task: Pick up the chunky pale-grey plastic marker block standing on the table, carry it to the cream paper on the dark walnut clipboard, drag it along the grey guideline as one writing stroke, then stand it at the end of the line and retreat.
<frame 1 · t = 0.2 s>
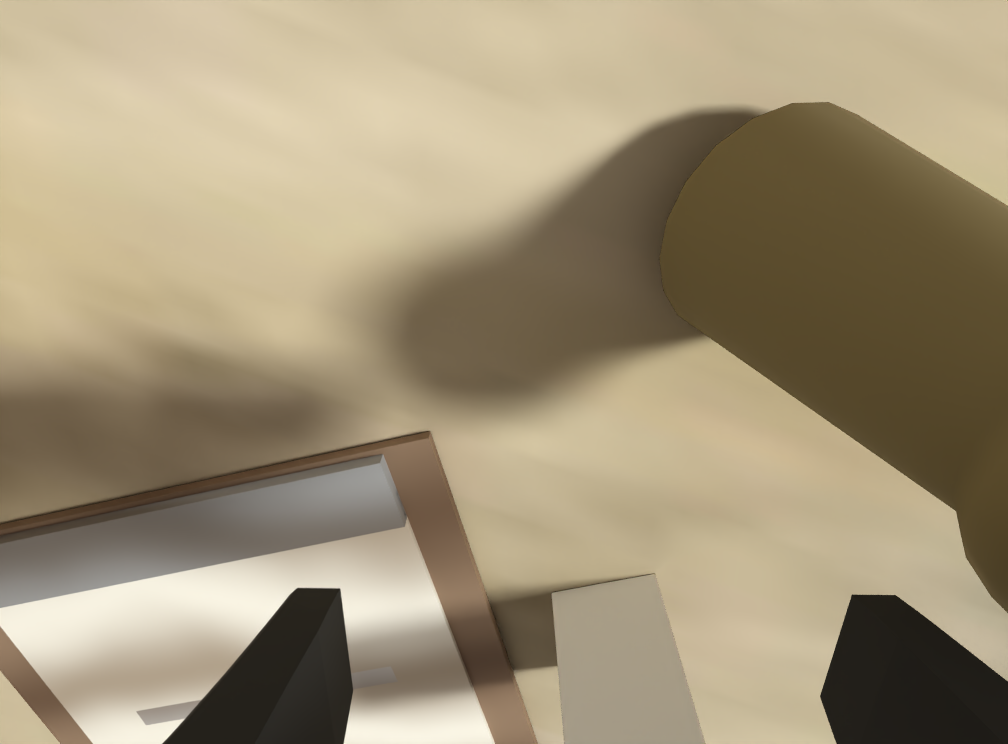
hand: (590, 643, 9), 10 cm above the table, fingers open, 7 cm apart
marker: (611, 621, 22), on the table
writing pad: (259, 664, 23), on the table
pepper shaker: (767, 227, 16), point 1 cm above the table
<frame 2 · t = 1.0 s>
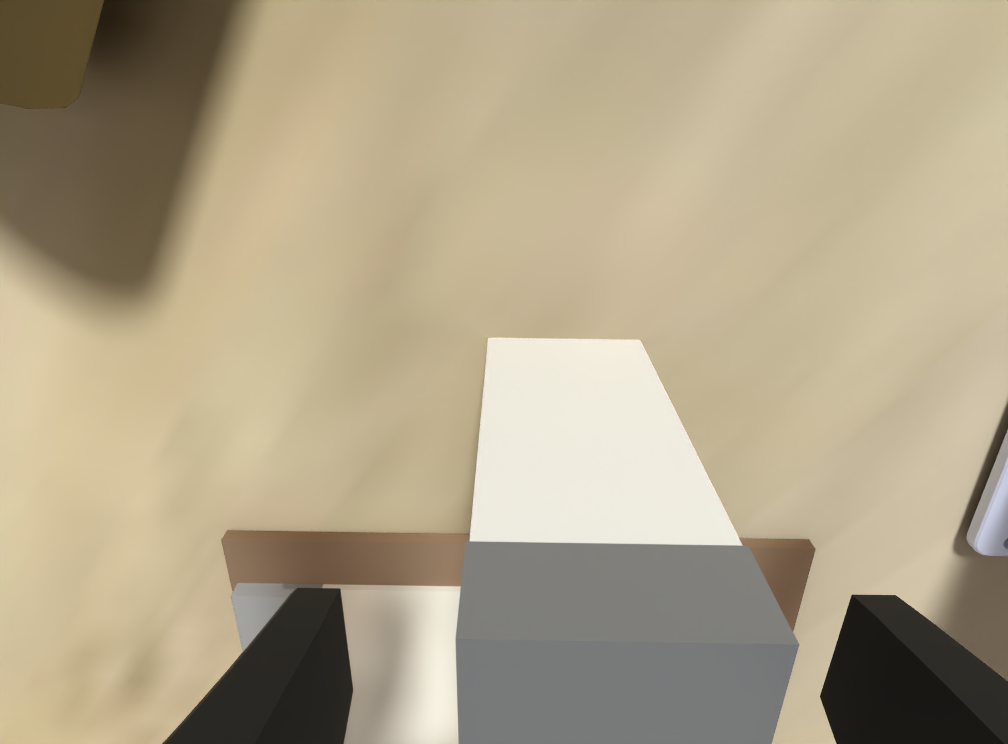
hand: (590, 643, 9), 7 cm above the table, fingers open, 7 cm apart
marker: (560, 406, 16), on the table
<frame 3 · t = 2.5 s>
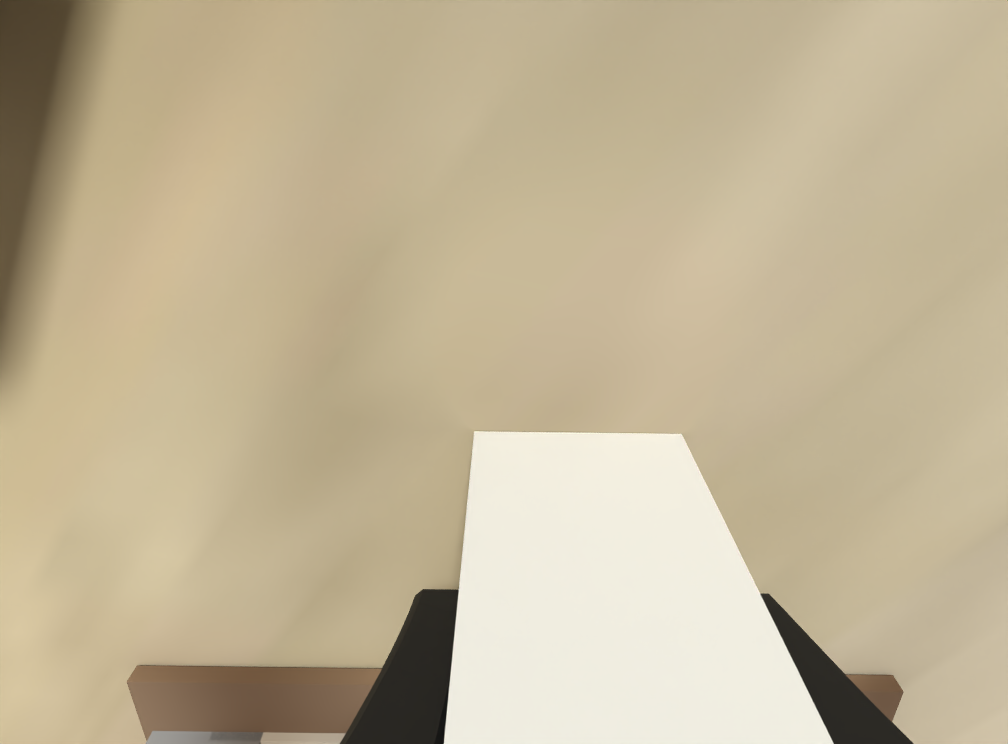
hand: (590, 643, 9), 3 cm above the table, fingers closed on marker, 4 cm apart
marker: (572, 516, 12), on the table, touching gripper
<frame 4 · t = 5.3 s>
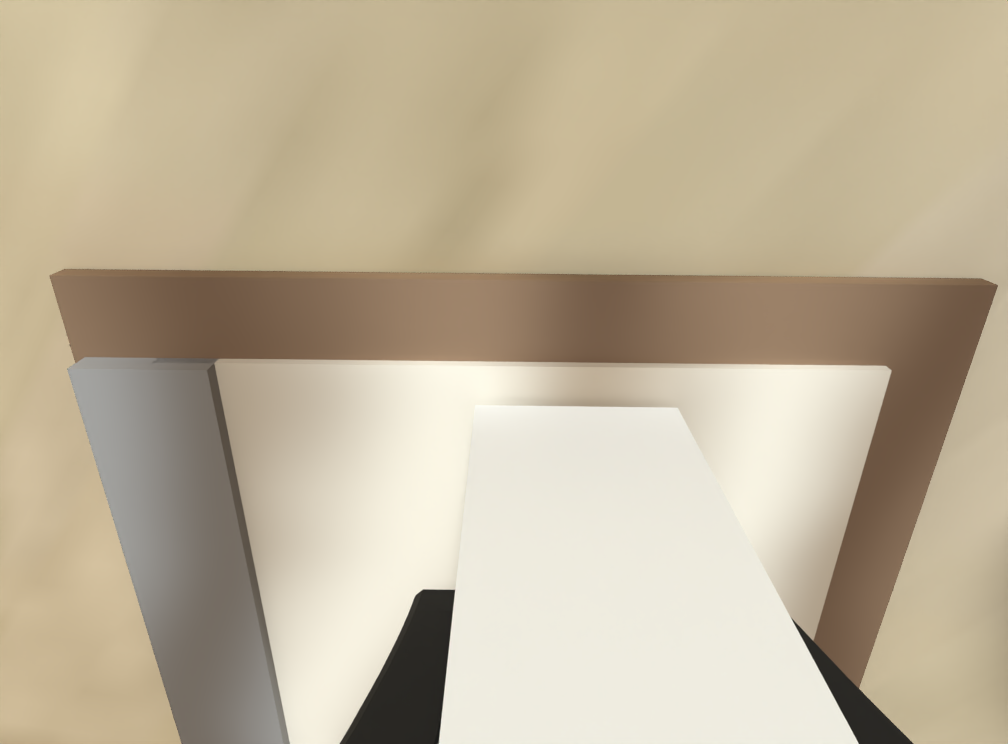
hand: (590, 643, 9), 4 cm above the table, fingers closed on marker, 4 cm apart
marker: (570, 491, 12), point 1 cm above the table, touching gripper
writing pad: (514, 648, 15), on the table
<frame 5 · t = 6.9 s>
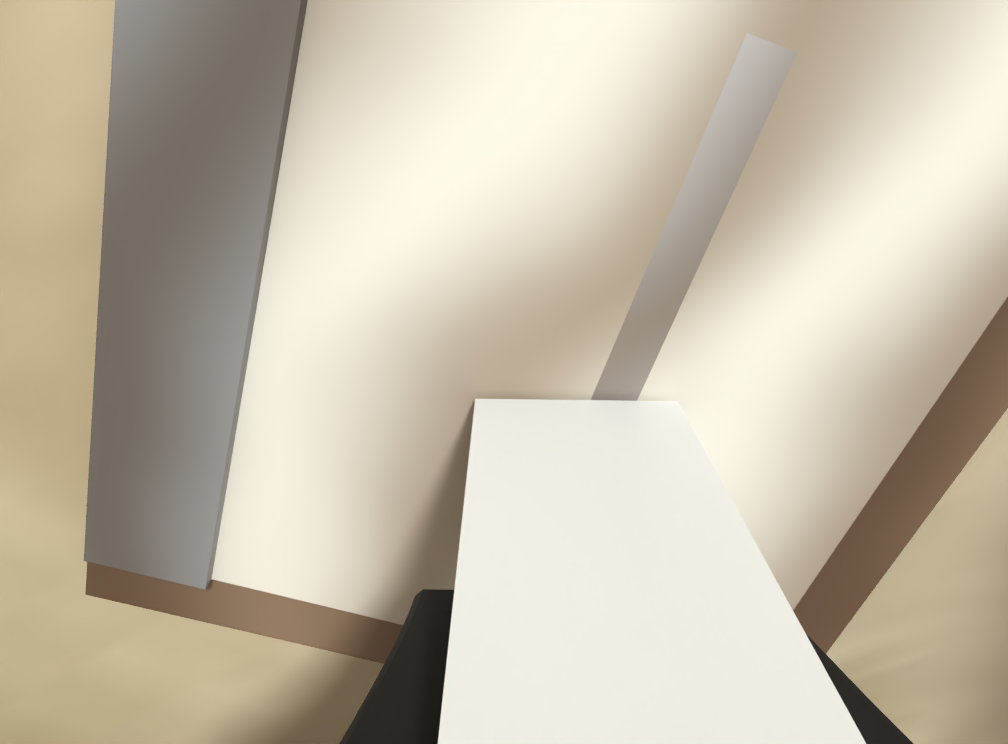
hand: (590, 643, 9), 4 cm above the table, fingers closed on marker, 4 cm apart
marker: (570, 485, 12), point 1 cm above the table, touching gripper
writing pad: (578, 322, 11), on the table
when the fingers open (4 cm above the table, at t = 8.3 s): marker stays where it is, resting on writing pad.
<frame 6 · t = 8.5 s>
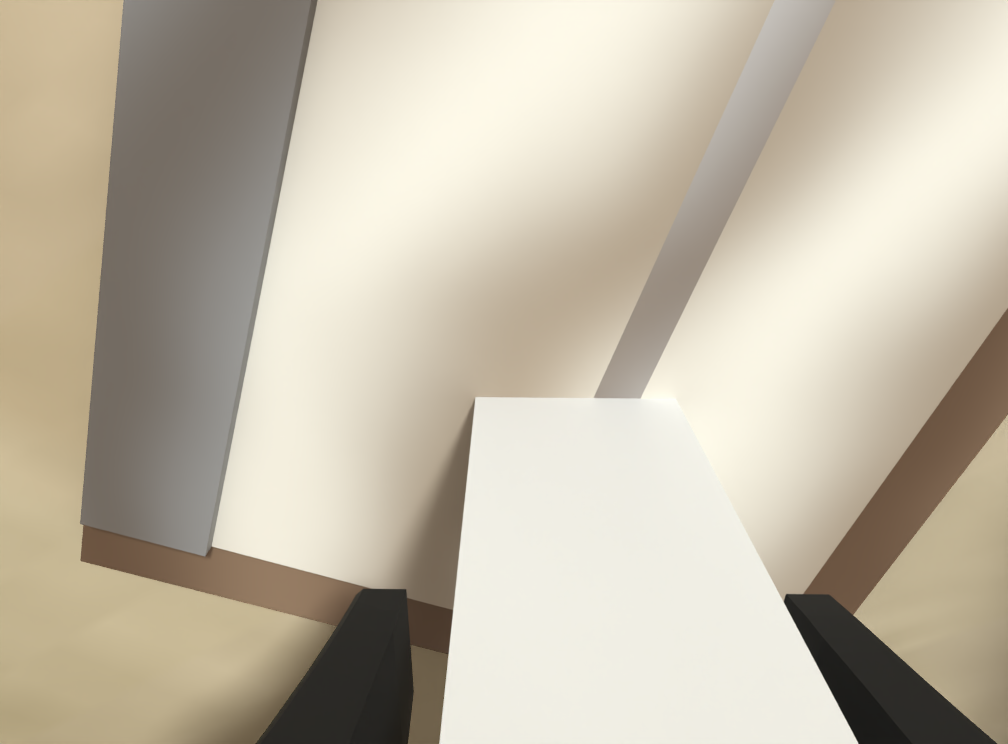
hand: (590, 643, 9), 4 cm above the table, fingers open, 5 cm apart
marker: (570, 481, 12), point 1 cm above the table, touching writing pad
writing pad: (597, 285, 11), on the table
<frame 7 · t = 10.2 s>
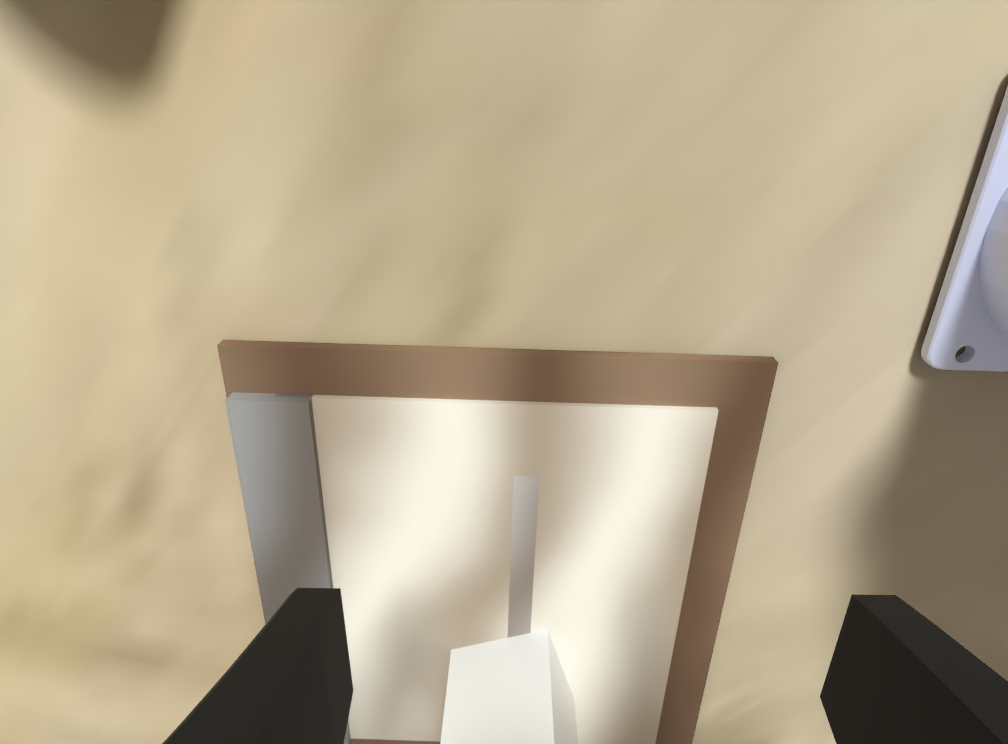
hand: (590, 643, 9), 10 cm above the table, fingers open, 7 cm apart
marker: (513, 674, 23), point 1 cm above the table, touching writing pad
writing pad: (492, 585, 22), on the table
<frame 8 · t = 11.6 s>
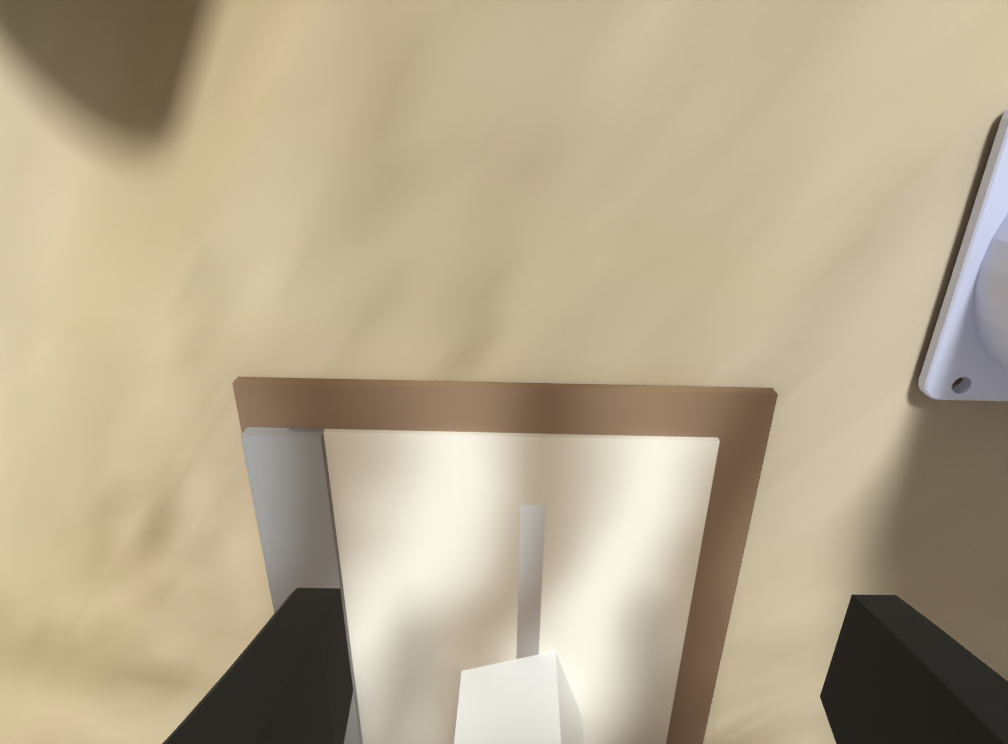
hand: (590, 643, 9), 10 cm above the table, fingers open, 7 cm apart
marker: (522, 694, 24), point 1 cm above the table, touching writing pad
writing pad: (500, 608, 23), on the table
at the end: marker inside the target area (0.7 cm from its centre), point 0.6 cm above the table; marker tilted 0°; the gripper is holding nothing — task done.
